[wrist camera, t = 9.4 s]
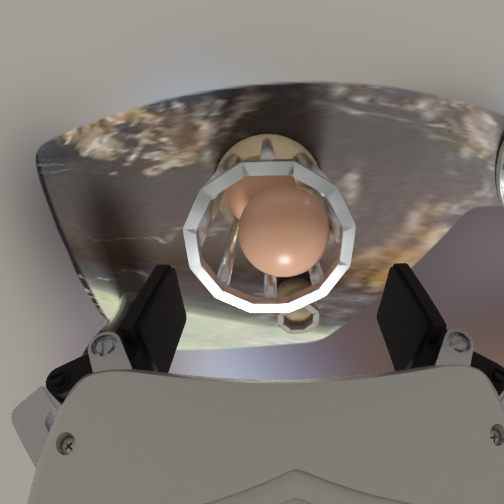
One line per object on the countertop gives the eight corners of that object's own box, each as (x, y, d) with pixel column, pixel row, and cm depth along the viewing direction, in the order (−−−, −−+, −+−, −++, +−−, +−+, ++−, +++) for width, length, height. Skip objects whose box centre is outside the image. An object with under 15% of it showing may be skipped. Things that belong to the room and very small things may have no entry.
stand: (314, 276, 31) (320, 303, 27) (311, 305, 33) (316, 332, 29) (276, 277, 31) (278, 304, 27) (276, 306, 33) (277, 334, 29)
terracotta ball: (295, 155, 17) (362, 216, 16) (275, 209, 22) (325, 262, 21) (223, 188, 15) (297, 268, 13) (216, 244, 20) (270, 307, 18)
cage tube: (321, 134, 23) (370, 155, 12) (318, 232, 28) (347, 314, 17) (211, 136, 24) (164, 160, 13) (220, 234, 29) (193, 316, 18)
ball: (300, 157, 23) (291, 152, 18) (299, 221, 25) (290, 235, 20) (237, 158, 25) (211, 154, 19) (238, 219, 27) (213, 231, 21)
